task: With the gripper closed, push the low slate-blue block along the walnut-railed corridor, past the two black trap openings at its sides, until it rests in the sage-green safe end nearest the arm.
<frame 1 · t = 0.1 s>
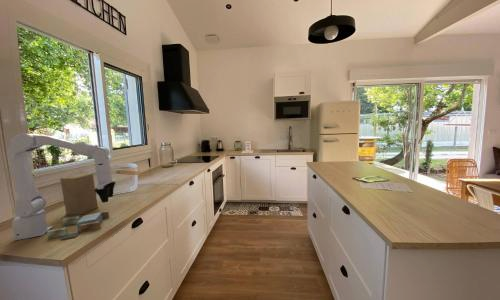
hand: (107, 199, 97), 10 cm above the table, tool pointing down, fingers open, 7 cm apart
wooden block: (82, 210, 111), on the table
slate block: (90, 225, 93), on the table
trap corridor: (81, 226, 92), on the table
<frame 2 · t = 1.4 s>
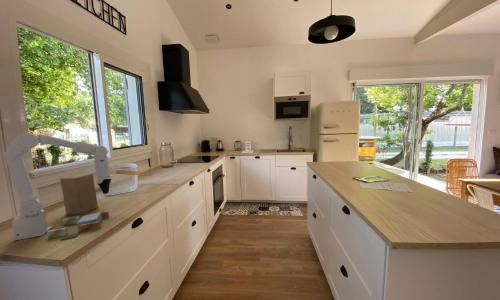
hand: (106, 193, 106), 10 cm above the table, tool pointing down, fingers closed
nothing on the table moved.
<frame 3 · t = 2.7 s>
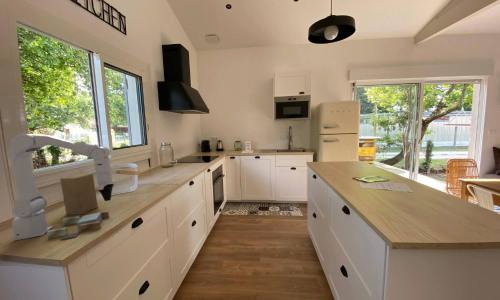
hand: (107, 200, 94), 10 cm above the table, tool pointing down, fingers closed
nothing on the table moved.
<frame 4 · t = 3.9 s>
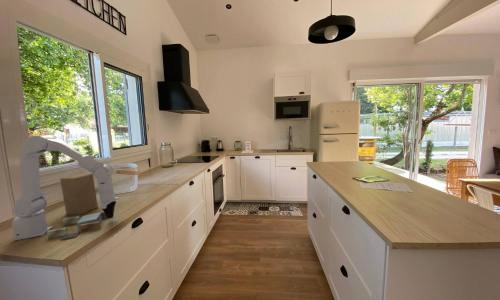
hand: (110, 217, 95), 2 cm above the table, tool pointing down, fingers closed
nothing on the table moved.
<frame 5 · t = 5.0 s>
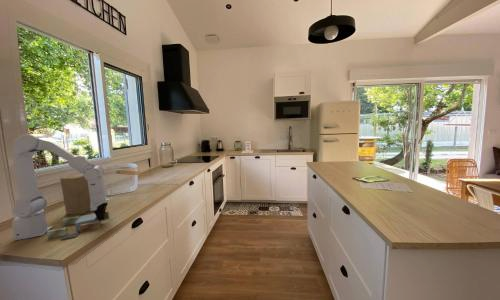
hand: (101, 219, 94), 2 cm above the table, tool pointing down, fingers closed
slate block: (88, 225, 93), on the table, touching gripper
everything else where it was.
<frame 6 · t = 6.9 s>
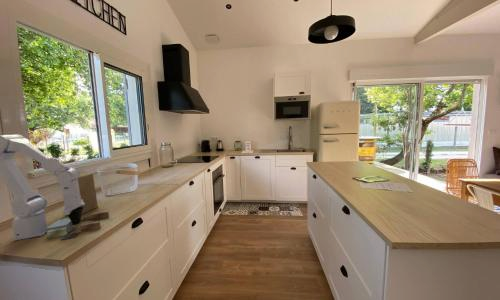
hand: (76, 224, 91), 2 cm above the table, tool pointing down, fingers closed
slate block: (63, 230, 89), on the table
everything else where it was.
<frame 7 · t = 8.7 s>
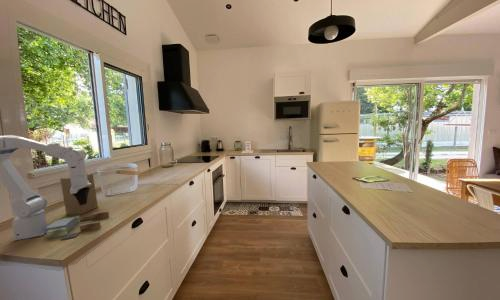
hand: (83, 204, 91), 10 cm above the table, tool pointing down, fingers closed
nothing on the table moved.
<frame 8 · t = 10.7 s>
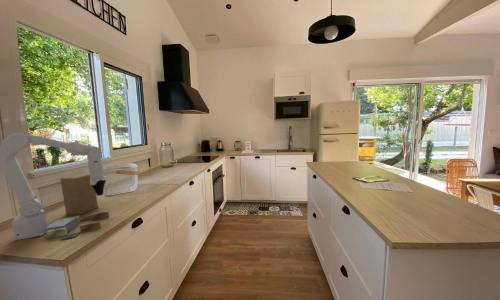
hand: (100, 195, 103), 10 cm above the table, tool pointing down, fingers closed
nothing on the table moved.
at the end: slate block 0.2 cm from the target spot, on the table; slate block tilted 0°; the gripper is holding nothing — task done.
